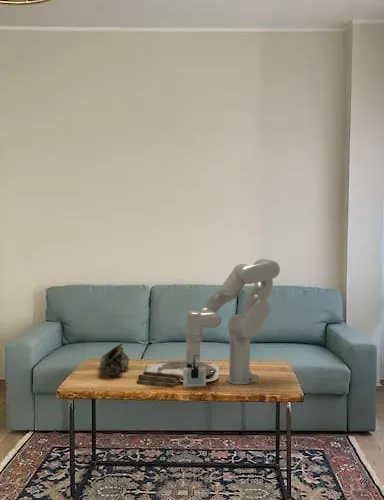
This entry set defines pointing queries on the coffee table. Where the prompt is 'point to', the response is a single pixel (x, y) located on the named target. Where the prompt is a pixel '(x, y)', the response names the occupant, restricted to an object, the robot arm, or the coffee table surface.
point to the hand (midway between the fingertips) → (192, 375)
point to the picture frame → (194, 381)
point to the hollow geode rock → (115, 361)
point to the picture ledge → (159, 379)
